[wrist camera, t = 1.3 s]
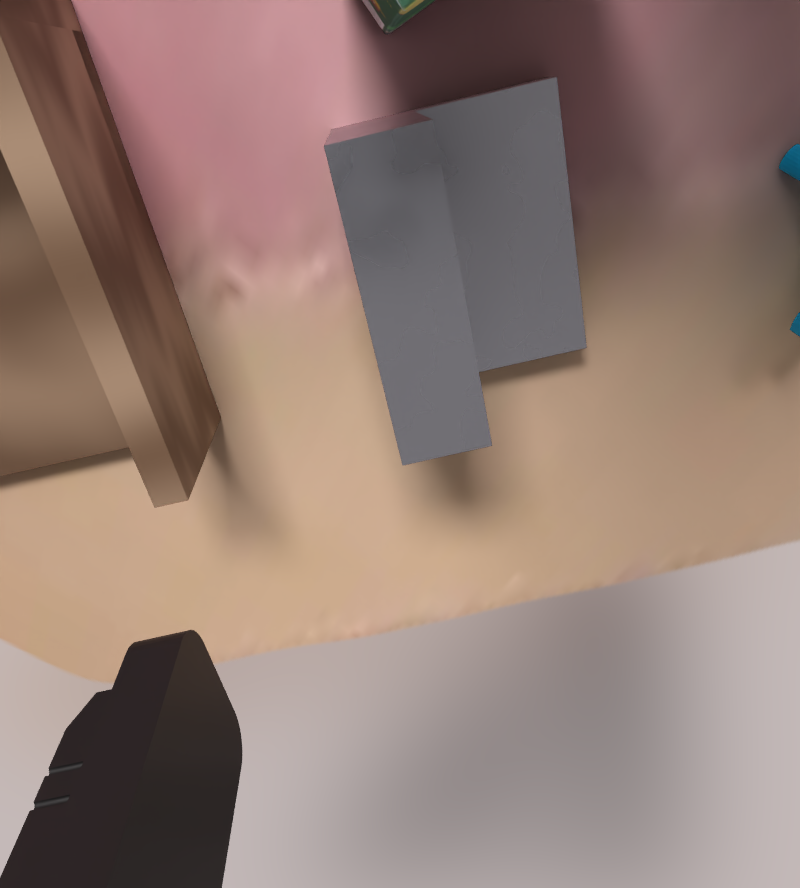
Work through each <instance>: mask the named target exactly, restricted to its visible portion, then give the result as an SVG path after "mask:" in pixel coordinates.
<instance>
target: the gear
mask: <svg viewBox="0 0 800 888" xmlns="http://www.w3.org/2000/svg"><path fill="white" fill-rule="evenodd" d="M779 169H780V170H782V171H784V172H785V173H787V174H789V175H790V176H792V177H794V178H795V179H797V180H799V181H800V145H799V144H796V145H794V146H793V147H792V148H791V149H790V150H789V151H788V152H787V153H786V155H785V156H784V157H783V159H782V161H781V163H780V165H779ZM790 330H791V331H792V332H794V333H795V334H797V335H798V336H799V337H800V312H799V313H798V315H797V316H796V318H795V319H794V321H793V323H792V325H791V328H790Z"/></svg>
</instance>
